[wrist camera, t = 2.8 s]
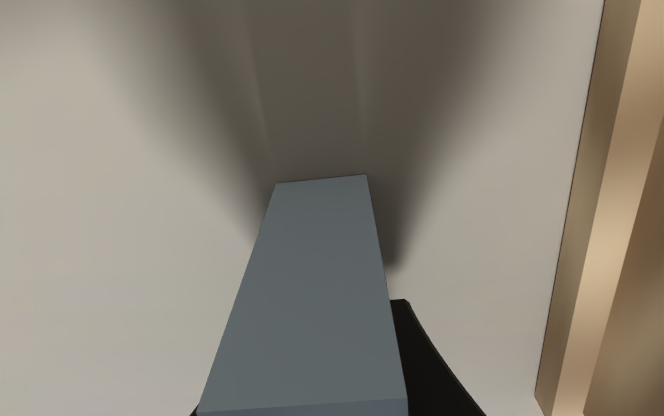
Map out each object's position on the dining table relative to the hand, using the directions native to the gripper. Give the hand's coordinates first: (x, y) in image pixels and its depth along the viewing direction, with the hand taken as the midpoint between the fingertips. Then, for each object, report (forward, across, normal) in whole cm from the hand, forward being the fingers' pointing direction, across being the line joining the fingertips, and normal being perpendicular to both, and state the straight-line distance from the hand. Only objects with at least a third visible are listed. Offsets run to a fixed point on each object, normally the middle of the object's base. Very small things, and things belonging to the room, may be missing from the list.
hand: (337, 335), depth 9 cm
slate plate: (+2, 0, 0) cm, 2 cm away
